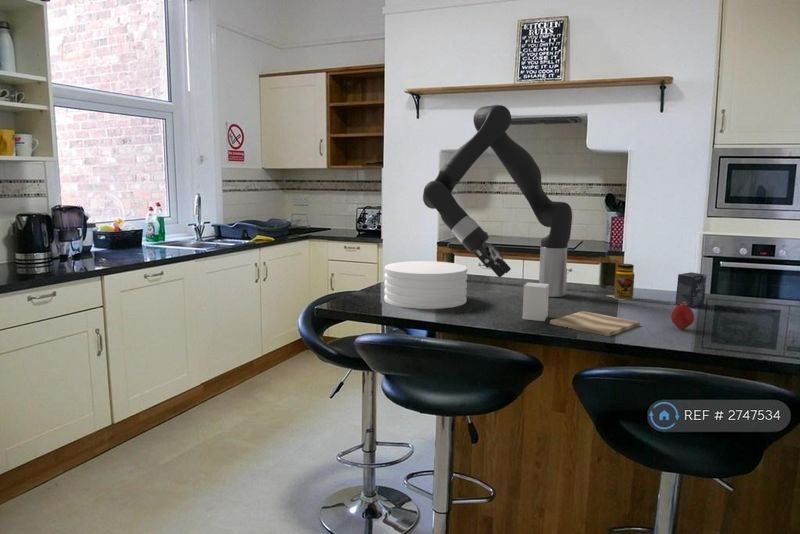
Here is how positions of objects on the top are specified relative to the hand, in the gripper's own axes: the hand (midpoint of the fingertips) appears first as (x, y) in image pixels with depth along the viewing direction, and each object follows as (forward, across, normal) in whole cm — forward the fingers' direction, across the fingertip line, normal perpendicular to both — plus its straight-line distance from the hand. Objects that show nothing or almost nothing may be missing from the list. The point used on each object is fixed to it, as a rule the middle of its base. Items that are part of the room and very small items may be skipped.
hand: (505, 273), depth 176 cm
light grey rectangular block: (+16, 0, +2) cm, 16 cm away
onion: (+44, +2, -26) cm, 51 cm away
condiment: (+32, +43, -14) cm, 56 cm away
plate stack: (-12, +11, +30) cm, 34 cm away
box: (+47, +39, -29) cm, 68 cm away
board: (+28, -1, -10) cm, 29 cm away
